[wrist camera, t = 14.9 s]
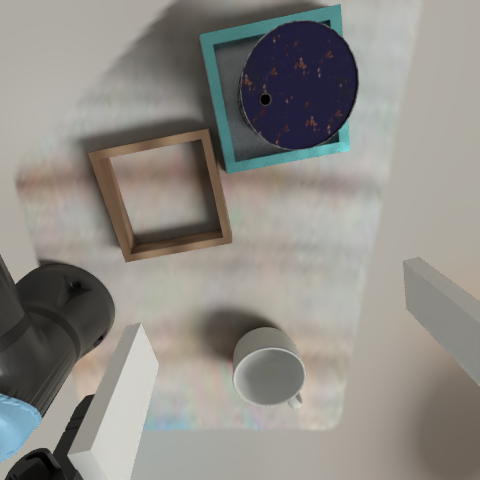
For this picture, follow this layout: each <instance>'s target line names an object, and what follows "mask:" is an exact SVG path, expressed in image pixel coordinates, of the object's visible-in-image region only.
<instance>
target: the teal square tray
mask: <svg viewBox="0 0 480 480" xmlns="http://www.w3.org/2000/svg"><path fill="white" fill-rule="evenodd" d="M295 20H311V21H317V22H320V23H323V24H325V25H327V26H329V27H331V28H332V29H334V30H335V31H336V32H337V33H339V34H340V35H341V36H342V37H343V34H342V18H341V4H339V5H334V6H329V7H325V8H320V9H315V10H311V11H306V12H302V13H297V14H292V15H288V16H283V17H278V18H274V19H269V20H264V21H260V22H255V23H251V24H246V25H241V26H237V27H232V28H227V29H223V30H218V31H213V32H209V33H204V34H200V37H199V41H200V46H201V50H202V55H203V60H204V65H205V70H206V75H207V80H208V85H209V90H210V95H211V100H212V105H213V110H214V115H215V120H216V125H217V129H218V134H219V139H220V144H221V149H222V154H223V159H224V164H225V169H226V173H228V174H229V173H234V172H239V171H245V170H250V169H255V168H260V167H265V166H270V165H276V164H281V163H286V162H291V161H296V160H302V159H307V158H312V157H317V156H322V155H327V154H333V153H338V152H343V151H348V150H350V142H349V127H348V120H347V121H346V123H345V124H344V126H343V127H342V128H341V129H340V130H339V131H338V132H337V133H336V134H335V135H334V136H333V137H332V138H330V139H329V140H328V141H326V142H324V143H322V144H320V145H318V146H316V147H313V148H310V149H305V150H287V149H282V148H279V147H276V146H274V145H272V144H269V143H267V142H265V141H264V140H263V139H261V138H260V137H258V136H257V135H256V134H255V133H254V132H253V131H252V130H251V129H250V128H249V127H248V126H247V124H246V123H245V122H244V120H243V118H242V116H241V114H240V111H239V107H238V102H237V91H238V85H239V79H240V75H241V72H242V68H243V66H244V64H245V61H246V59H247V58H248V56H249V54H250V52H251V51H252V49H253V47H254V46H255V45H256V44H257V42H258V41H259V40H260V39H261V38H262V37H263V36H264V35H265V34H266V33H268V32H269V31H270V30H272V29H274V28H275V27H277V26H279V25H281V24H284V23H286V22H290V21H295Z"/></svg>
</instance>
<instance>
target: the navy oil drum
mask: <svg viewBox="0 0 480 480" xmlns="http://www.w3.org/2000/svg"><path fill="white" fill-rule="evenodd" d="M358 87H359V75H358V68H357V63H356V60H355V57H354V54H353V52H352V50H351V48H350V47H349V45H348V43H347V42H346V41H345V40H344V38H343V37H342V36H341V35H340V34H339V33H337V32H336V31H335V30H334V29H332V28H331V27H329V26H327V25H325V24H323V23H320V22H317V21H311V20H295V21H290V22H286V23H284V24H281V25H279V26H277V27H275V28H274V29H272V30H270V31H269V32H268V33H266V34H265V35H264V36H263V37H262V38H261V39H260V40H259V41H258V42H257V44H256V45H255V46H254V47H253V49H252V51H251V52H250V54H249V56H248V58H247V59H246V61H245V64H244V66H243V68H242V72H241V75H240V79H239V85H238V91H237V102H238V107H239V111H240V114H241V116H242V118H243V120H244V122H245V123H246V124H247V126H248V127H249V128H250V129H251V130H252V131H253V132H254V133H255V134H256V135H257V136H258V137H260V138H261V139H263V140H264V141H265V142H267V143H269V144H272V145H274V146H276V147H279V148H282V149H287V150H305V149H310V148H313V147H316V146H318V145H320V144H322V143H324V142H326V141H328V140H329V139H330V138H332V137H333V136H334V135H335V134H336V133H337V132H338V131H339V130H340V129H341V128H342V127H343V126H344V124H345V123H346V121H347V120H348V118H349V116H350V115H351V113H352V111H353V108H354V105H355V103H356V99H357V94H358Z"/></svg>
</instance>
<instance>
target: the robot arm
mask: <svg viewBox="0 0 480 480" xmlns="http://www.w3.org/2000/svg"><path fill="white" fill-rule="evenodd" d="M403 265H404V281H405V293H406V294H405V296H406V309H407V310H408V311H409V312H410V313H411V314H412V315H413V316H414V317H415V318H416V319H417V320H418V322H420V324H421V325H422V326H423V327H424V328H425V329H426V330H427V331H428V332H429V333H430V334H431V335H432V336H433V337H434V338H435V340H437V342H438V343H439V344H440V345H441V346H442V347H443V348H444V349H445V350H446V351H447V352H448V353H449V354H450V355H451V356H452V358H453V359H454V360H455V361H456V362H457V363H458V364H459V365H460V366H461V367H462V368H463V369H464V370H465V371H466V372H467V373H468V374H469V376H471V378H472V379H473V380H474V381H475V382H476V383H477V384H478V385H479V386H480V301H478V300H477V299H476V298H474V297H473V296H472V295H470V294H469V293H467V292H466V291H465V290H463V289H462V288H461V287H459V286H458V285H456V284H455V283H454V282H452V281H451V280H450V279H448V278H447V277H446V276H444V275H443V274H441V273H440V272H439V271H437V270H436V269H434V268H433V267H432V266H430V265H429V264H428V263H426V262H425V261H423V260H422V259H421V258H419V257H418V258H414V259H410V260H405V261H403ZM114 318H115V307H114V303H113V300H112V297H111V295H110V293H109V292H108V290H107V289H106V287H105V286H104V285H103V284H102V283H101V282H100V281H99V280H98V279H97V278H96V277H94V276H93V275H91V274H90V273H88V272H86V271H84V270H82V269H80V268H77V267H74V266H70V265H63V264H51V265H45V266H41V267H39V268H36V269H34V270H32V271H31V272H30V273H28V274H27V275H26V276H24V277H23V278H22V279H21V280H20V281H19V282H18V283H17V284H16V285H15V283H14V281H13V279H12V277H11V275H10V273H9V271H8V269H7V267H6V265H5V263H4V261H3V259H2V257H1V255H0V462H3V461H5V460H7V459H8V458H10V457H11V456H13V455H14V454H15V453H16V452H17V451H18V450H19V449H20V448H21V447H22V446H23V444H24V443H25V442H26V440H27V439H28V437H29V436H30V435H31V433H32V432H33V430H35V429H36V428H37V427H38V425H39V424H40V423H41V420H42V418H43V417H44V415H45V413H46V411H47V410H48V408H49V407H50V405H51V403H52V402H53V400H54V398H55V397H56V395H57V393H58V392H59V390H60V388H61V387H62V385H63V383H64V382H65V380H66V378H67V377H68V375H69V373H70V372H71V370H72V368H73V367H74V365H75V363H76V362H77V361H78V360H79V359H81V358H82V357H83V356H85V355H86V354H87V353H89V352H90V351H91V350H93V349H94V348H95V347H97V346H98V345H99V344H100V343H101V342H102V341H103V340H104V339H105V337H106V336H107V334H108V332H109V331H110V329H111V327H112V325H113V322H114ZM158 367H159V364H158V362H157V360H156V357H155V355H154V352H153V350H152V348H151V345H150V343H149V341H148V338H147V336H146V333H145V331H144V329H143V326H142V324H141V323H138V324H134V325H130V326H126V328H125V330H124V332H123V335H122V337H121V339H120V341H119V343H118V345H117V348H116V350H115V352H114V354H113V356H112V358H111V361H110V363H109V365H108V367H107V369H106V372H105V374H104V376H103V378H102V380H101V382H100V385H99V387H98V389H97V391H96V393H95V394H93V395H88V396H86V397H85V398H84V399H83V400H82V401H81V402H80V404H79V405H78V406H77V407H76V409H75V411H74V413H73V415H72V417H71V419H70V422H69V423H68V425H67V427H66V429H65V432H64V433H63V435H62V436H61V439H60V441H59V443H58V445H57V447H56V449H55V450H54V452H53V454H52V453H51V452H50V451H49V450H48V449H47V448H39V449H36V450H33V451H31V452H30V453H28V454H27V455H25V456H23V457H22V458H21V459H20V460H19V461H18V462H16V463H15V465H14V466H13V467H12V468H11V469H10V471H9V472H8V474H7V476H6V478H5V480H130V476H131V472H132V468H133V464H134V461H135V457H136V453H137V449H138V445H139V441H140V437H141V434H142V430H143V426H144V422H145V418H146V414H147V410H148V406H149V402H150V399H151V395H152V391H153V387H154V383H155V379H156V375H157V371H158Z"/></svg>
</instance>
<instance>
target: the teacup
mask: <svg viewBox="0 0 480 480" xmlns="http://www.w3.org/2000/svg"><path fill="white" fill-rule="evenodd" d="M305 379H306V370H305V367H304V364H303V362H302V360H301V357H300V355H299V352H298V350H297V348H296V346H295V344H294V342H293V341H292V339H291V338H290V337H289V336H288V335H287V334H286V333H284V332H283V331H281V330H278V329H275V328H270V327H263V328H257V329H254V330H252V331H250V332H248V333H246V334H245V335H244V336H243V337H242V338H241V339H240V340H239V342H238V343H237V345H236V347H235V350H234V355H233V386H234V388H235V391H236V393H237V394H238V395H239V397H240V398H242V399H243V400H245V401H246V402H247V403H249V404H251V405H254V406H259V407H273V406H278V405H280V404H283V403H286V402H288V404H289V405H290V407H291V408H293V409H298V408H299V407H301V406H302V398H301V395H300V393H299V392H300V390H301V389H302V387H303V385H304V383H305Z"/></svg>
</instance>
